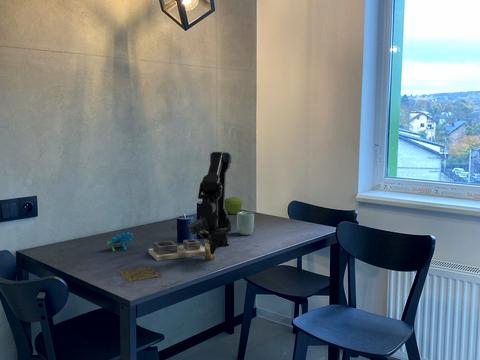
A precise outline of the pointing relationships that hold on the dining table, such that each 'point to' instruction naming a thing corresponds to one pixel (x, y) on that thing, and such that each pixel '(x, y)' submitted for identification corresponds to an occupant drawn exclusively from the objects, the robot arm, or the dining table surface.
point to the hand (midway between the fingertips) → (209, 252)
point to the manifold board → (176, 249)
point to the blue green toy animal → (120, 241)
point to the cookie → (139, 274)
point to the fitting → (208, 251)
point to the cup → (245, 222)
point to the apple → (233, 205)
